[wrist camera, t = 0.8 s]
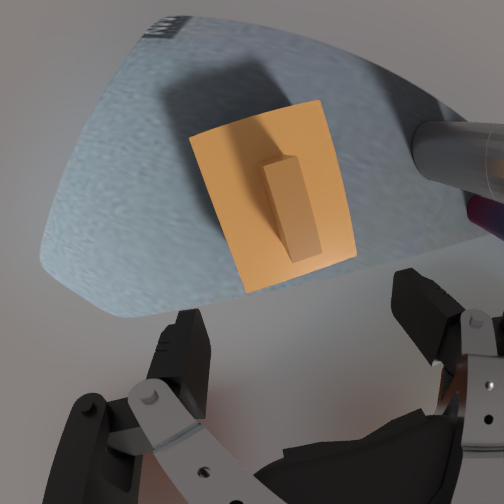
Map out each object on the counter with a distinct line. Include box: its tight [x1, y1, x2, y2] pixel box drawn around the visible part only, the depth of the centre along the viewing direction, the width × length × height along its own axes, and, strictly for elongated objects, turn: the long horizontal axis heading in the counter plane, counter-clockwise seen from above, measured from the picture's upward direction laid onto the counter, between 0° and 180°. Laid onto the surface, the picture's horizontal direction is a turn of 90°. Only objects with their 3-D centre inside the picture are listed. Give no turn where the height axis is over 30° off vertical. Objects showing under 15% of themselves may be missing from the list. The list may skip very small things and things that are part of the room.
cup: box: [467, 196, 504, 241], centre depth 29 cm, size 7×7×15 cm
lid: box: [189, 100, 357, 293], centre depth 23 cm, size 12×16×7 cm
